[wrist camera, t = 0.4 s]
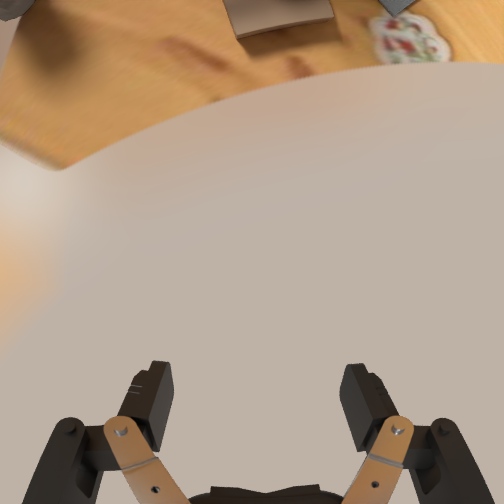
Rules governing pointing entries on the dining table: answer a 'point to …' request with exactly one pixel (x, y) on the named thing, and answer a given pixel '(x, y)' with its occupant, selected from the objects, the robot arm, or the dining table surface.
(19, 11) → the coffeepot
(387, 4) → the slate pad
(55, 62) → the dining table surface
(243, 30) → the bottle holder tray
